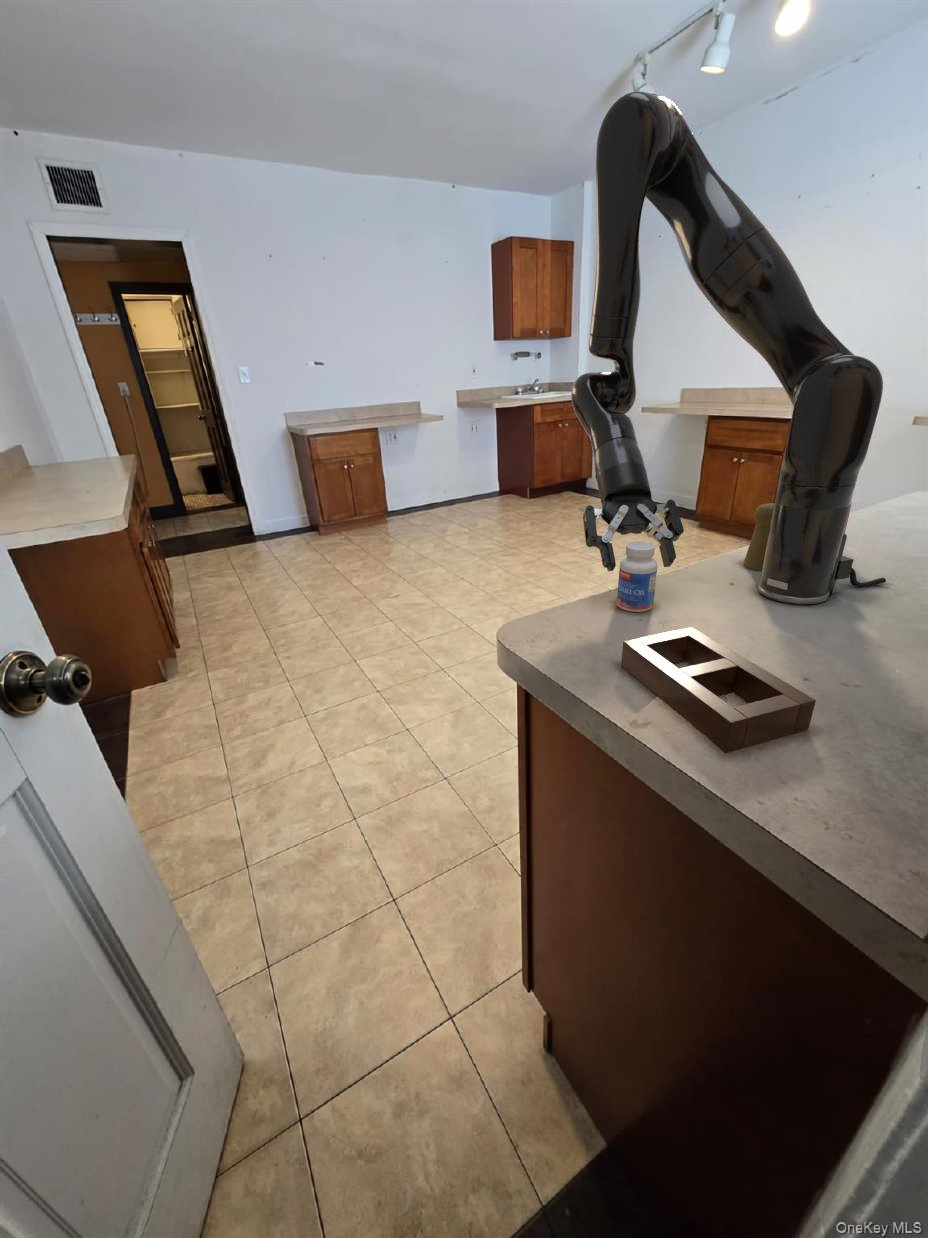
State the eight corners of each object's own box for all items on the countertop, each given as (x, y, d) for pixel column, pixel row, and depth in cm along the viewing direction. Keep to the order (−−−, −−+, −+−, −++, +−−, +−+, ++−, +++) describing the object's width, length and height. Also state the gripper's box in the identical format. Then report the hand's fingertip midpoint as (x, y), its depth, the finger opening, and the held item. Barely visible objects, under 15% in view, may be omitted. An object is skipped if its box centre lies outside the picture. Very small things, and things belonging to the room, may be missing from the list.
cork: (786, 571, 89) (800, 508, 84) (748, 571, 90) (759, 508, 85) (775, 560, 94) (786, 500, 89) (739, 560, 95) (749, 500, 91)
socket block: (688, 651, 66) (691, 626, 64) (808, 730, 50) (816, 700, 49) (621, 666, 64) (622, 641, 62) (725, 753, 48) (731, 722, 47)
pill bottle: (611, 608, 79) (614, 547, 75) (624, 596, 83) (628, 538, 79) (646, 615, 76) (652, 552, 72) (658, 603, 80) (664, 542, 76)
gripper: (581, 463, 78) (598, 558, 72) (673, 457, 78) (698, 551, 72) (572, 492, 85) (587, 581, 79) (657, 486, 85) (678, 574, 79)
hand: (640, 566), depth 76 cm, fingers open, 8 cm apart
